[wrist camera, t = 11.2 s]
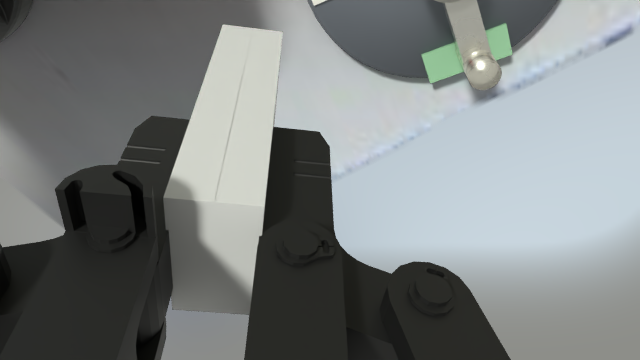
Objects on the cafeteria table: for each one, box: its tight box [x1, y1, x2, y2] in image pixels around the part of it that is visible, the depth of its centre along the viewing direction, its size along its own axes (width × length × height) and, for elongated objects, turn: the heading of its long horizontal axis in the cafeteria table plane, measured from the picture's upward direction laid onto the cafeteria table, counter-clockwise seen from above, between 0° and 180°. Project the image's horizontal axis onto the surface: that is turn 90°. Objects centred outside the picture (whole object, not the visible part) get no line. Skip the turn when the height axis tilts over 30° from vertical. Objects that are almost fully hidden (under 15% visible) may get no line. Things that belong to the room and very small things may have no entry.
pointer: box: [435, 0, 502, 90], centre depth 31 cm, size 10×4×5 cm, turn 25°
